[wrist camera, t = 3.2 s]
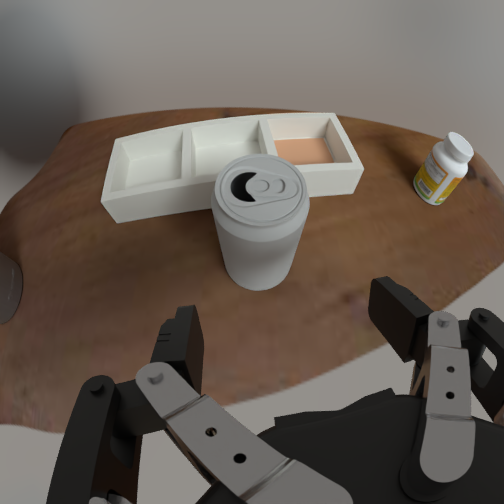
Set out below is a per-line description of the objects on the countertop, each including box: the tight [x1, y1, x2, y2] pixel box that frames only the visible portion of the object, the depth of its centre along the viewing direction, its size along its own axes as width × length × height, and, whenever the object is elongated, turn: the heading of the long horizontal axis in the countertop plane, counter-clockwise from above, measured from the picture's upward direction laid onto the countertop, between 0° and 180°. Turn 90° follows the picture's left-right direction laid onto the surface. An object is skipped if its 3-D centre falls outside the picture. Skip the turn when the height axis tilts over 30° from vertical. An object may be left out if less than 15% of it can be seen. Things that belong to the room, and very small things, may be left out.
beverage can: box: [211, 154, 309, 291], centre depth 22 cm, size 6×6×12 cm
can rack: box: [101, 113, 364, 223], centre depth 30 cm, size 28×10×4 cm, turn 98°
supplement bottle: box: [413, 132, 474, 205], centre depth 27 cm, size 5×5×10 cm
